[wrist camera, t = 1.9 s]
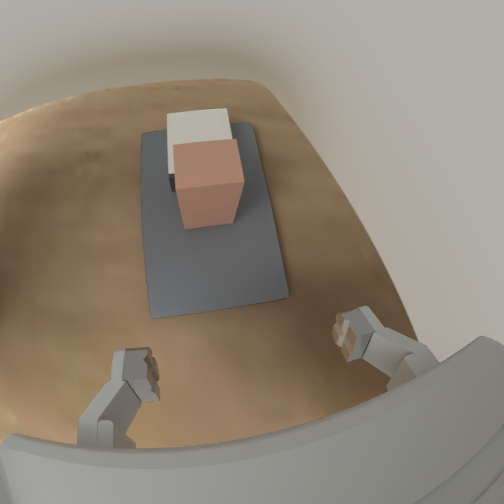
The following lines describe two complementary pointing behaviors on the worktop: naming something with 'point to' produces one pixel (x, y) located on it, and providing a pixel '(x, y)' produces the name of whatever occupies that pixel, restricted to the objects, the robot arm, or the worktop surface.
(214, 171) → the salmon pink rectangular block
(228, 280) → the stand
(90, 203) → the worktop surface
